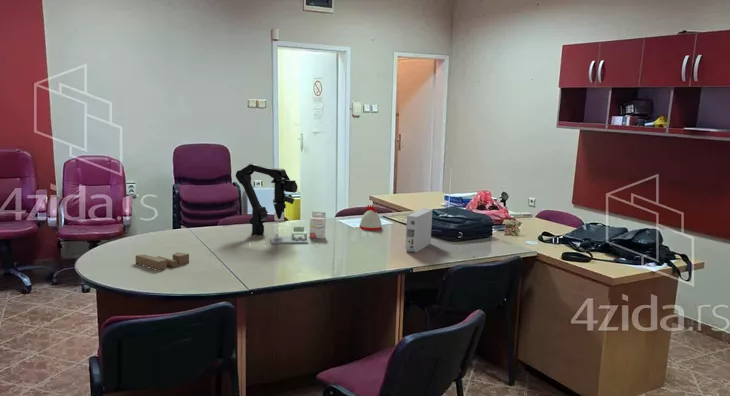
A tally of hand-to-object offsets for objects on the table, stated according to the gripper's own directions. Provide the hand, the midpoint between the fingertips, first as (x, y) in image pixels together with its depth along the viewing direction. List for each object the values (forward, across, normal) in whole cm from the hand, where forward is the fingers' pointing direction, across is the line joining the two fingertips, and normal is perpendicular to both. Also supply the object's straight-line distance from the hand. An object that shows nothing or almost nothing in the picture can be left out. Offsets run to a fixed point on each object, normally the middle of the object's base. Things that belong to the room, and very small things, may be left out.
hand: (279, 218), depth 313 cm
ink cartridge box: (+11, -3, -22) cm, 25 cm away
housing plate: (+11, -10, -5) cm, 16 cm away
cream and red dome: (+11, +21, -59) cm, 64 cm away
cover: (+10, -7, -11) cm, 16 cm away
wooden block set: (+12, -51, +56) cm, 77 cm away
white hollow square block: (+1, 0, 0) cm, 1 cm away
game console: (+11, -30, -75) cm, 81 cm away
